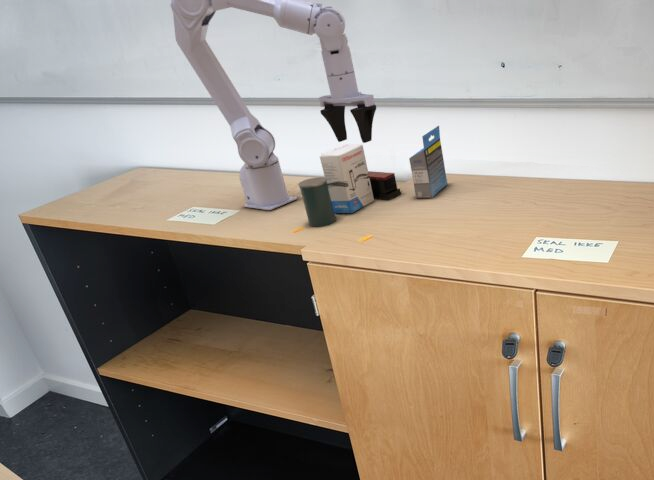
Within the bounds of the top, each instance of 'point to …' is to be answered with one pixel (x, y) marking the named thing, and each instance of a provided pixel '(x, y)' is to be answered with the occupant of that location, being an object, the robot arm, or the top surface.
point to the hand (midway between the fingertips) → (354, 141)
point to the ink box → (347, 178)
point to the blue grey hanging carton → (429, 167)
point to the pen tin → (317, 201)
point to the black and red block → (383, 185)
